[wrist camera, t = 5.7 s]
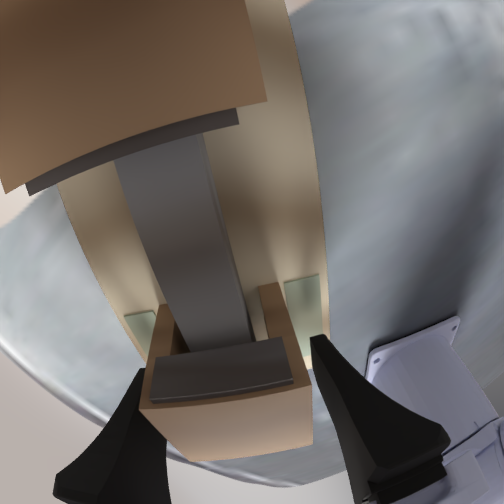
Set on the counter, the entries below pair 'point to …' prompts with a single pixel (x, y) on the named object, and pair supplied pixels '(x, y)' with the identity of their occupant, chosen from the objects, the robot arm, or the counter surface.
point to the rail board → (246, 187)
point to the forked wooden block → (229, 389)
